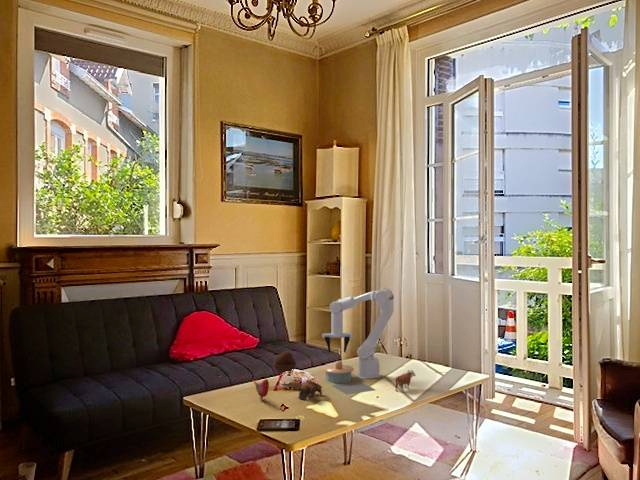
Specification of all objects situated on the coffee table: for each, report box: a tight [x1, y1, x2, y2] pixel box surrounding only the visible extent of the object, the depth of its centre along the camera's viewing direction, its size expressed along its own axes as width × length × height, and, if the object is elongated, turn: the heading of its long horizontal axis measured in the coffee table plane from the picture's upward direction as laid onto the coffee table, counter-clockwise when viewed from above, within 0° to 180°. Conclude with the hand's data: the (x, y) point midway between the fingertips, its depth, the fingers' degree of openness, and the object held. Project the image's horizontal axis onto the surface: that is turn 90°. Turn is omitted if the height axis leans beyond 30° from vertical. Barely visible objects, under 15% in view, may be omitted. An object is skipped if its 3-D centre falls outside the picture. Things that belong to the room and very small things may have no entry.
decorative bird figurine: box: [252, 378, 270, 402], centre depth 232 cm, size 3×18×10 cm, turn 27°
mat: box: [331, 381, 376, 395], centre depth 248 cm, size 15×15×1 cm
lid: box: [323, 360, 355, 374], centre depth 262 cm, size 14×14×5 cm
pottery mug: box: [298, 380, 323, 401], centre depth 234 cm, size 12×10×8 cm
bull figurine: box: [394, 369, 416, 392], centre depth 246 cm, size 4×13×8 cm, turn 137°
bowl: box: [325, 371, 353, 384], centre depth 262 cm, size 12×12×5 cm
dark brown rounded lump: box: [272, 350, 297, 375], centre depth 257 cm, size 11×11×15 cm
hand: (337, 352), depth 275 cm, fingers open, 7 cm apart
